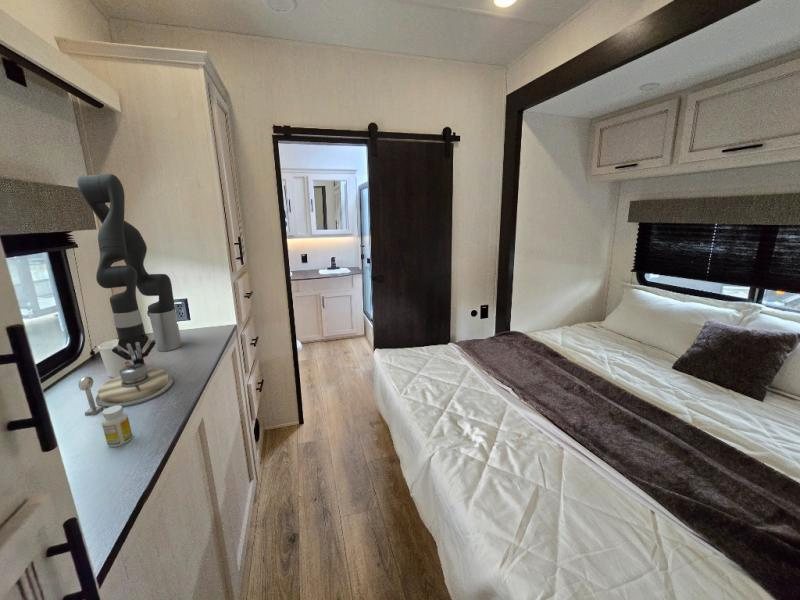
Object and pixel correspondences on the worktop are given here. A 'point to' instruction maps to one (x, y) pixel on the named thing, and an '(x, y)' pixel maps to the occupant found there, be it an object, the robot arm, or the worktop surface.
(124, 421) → the supplement bottle
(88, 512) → the worktop surface
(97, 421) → the worktop surface
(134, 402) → the turntable base
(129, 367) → the cover
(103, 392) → the turntable
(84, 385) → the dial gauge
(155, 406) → the worktop surface
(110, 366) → the candle holder
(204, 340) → the worktop surface
